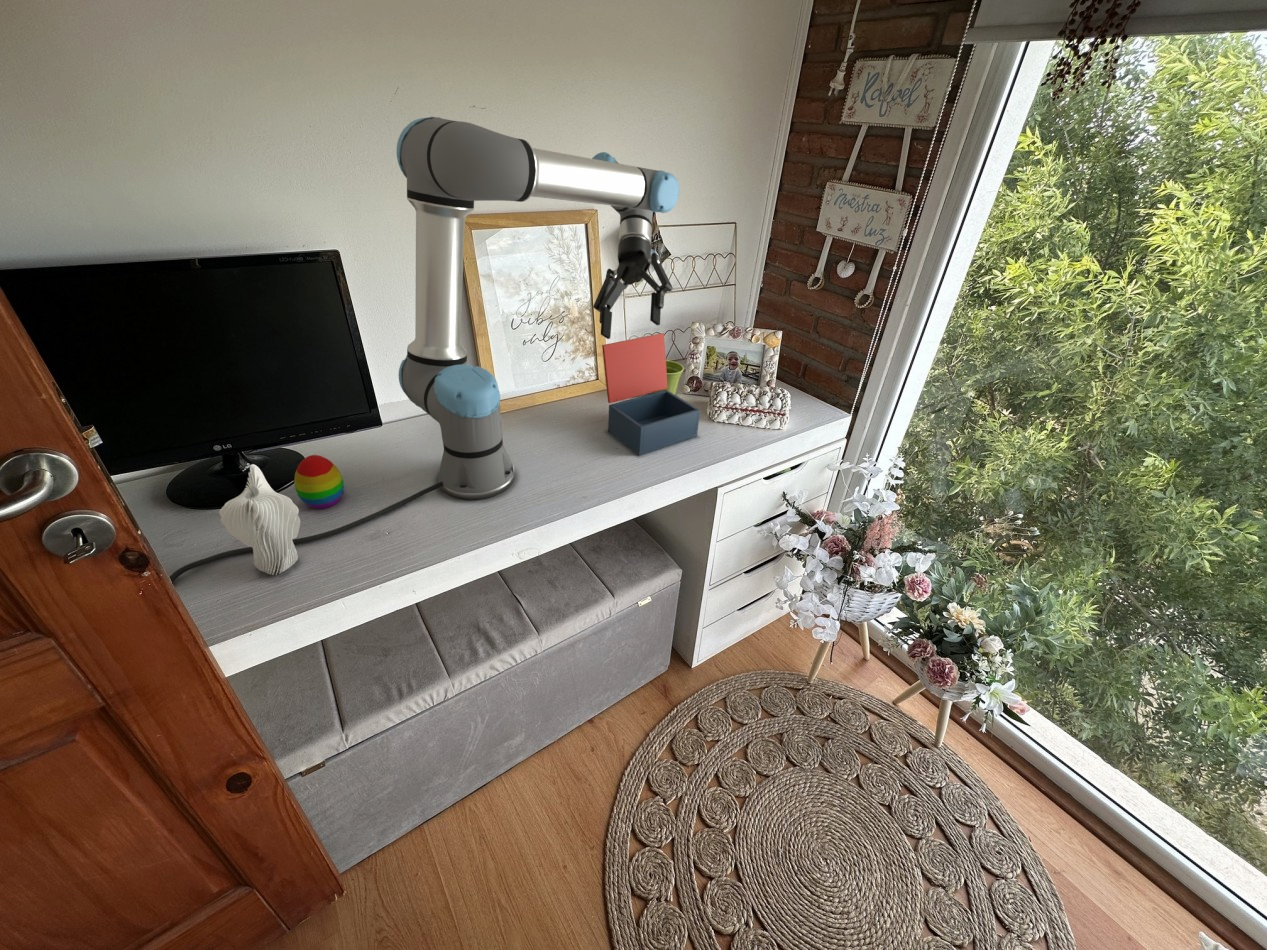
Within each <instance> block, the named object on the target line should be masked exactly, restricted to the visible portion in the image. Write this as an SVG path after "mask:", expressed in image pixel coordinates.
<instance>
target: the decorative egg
mask: <svg viewBox="0 0 1267 950" xmlns="http://www.w3.org/2000/svg"><path fill="white" fill-rule="evenodd" d="M293 481H294V483H293V484H294V488H295V493H296V494H297V496H298V498H299V499H300V500H301V502H303V503H304V504H305V505H306V506H307V507H310V508H313V509H317V510H318V509H319V510H320V509H327V508H330V507H332V506H334V505H336V504H337V503H338V502H339V501H340V500H341V498H342V496H343V494H344V490H345V484H344V483H345V482H344V478H343V475H342V472H341V471H340V470H339V468H338V467H337V466H336V464H334V462H332V461H331V460H330V459H328V458H327V457H324V456H322V455H317V454H313V455H308V456H306V457H305V458H303V459H302V460H301V462H300V463H299V464H298V465H297V468H296V470H295V473H294V480H293Z"/></svg>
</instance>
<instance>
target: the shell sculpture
mask: <svg viewBox="0 0 1267 950" xmlns="http://www.w3.org/2000/svg"><path fill="white" fill-rule="evenodd" d="M247 474H248V477H247V481H246V485H245V488H244V490H243V491H242V492H241V493H240V494H239V495H238V496H236V497H234V498H232V499H230V500H227V502H225V503H224V505H223V506H222V507H221V509H220V510H219V511H218V514H219V516H220V517H221V518H220V523H221V524H222V525H223V527H225V529H226V531H227V533H228V534H229V535H231V536H232V537H233V538H234V539H236V540H238V541H239V542H241V543H242V544H244V545H246V546H247V547H252V548H253V552H252V553H253V554H252V555H253V564H254V567H255V568H256V569H257V570H258V571H260V572H263V573H266V574H267V575H270V576H271V575H272V576H274V575H275V576H277V575H278V574H279V575H281V574H282V573H284V572H286V571H287V570H288V569H290V568H291V567H293V565H294V564H296V562H297V561H298V558H299V556H298V552H297V549H296V546H295V544H293V541H292V539H297V536H298V534H299V531H300V528H301V527H300V526H301V519H300V516H299V511H300V509H299V508H298V506H297V505H296V504H295V503H294V502H293V500H292V499H291V498H290V497H288V496H286V495H284V494H281V493H278V492H276V491H275V490H274V489H273V488H272V487H271V485H270V484H269V483H268V481H267V479H266V477H265V475H264V473H263V471H262V470H261V469H260V467H259V466H257V465H256V464H254V463H251V464H250V465H249V471H248V473H247Z"/></svg>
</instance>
